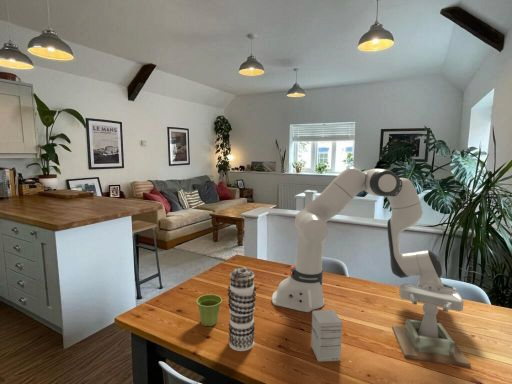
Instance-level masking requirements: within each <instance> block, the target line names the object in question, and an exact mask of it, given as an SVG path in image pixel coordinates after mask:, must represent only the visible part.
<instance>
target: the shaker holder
mask: <svg viewBox="0 0 512 384" xmlns="http://www.w3.org/2000/svg"><path fill="white" fill-rule="evenodd" d="M421 323H422V320H416V319H407V318H406V319H405V326H398V325H392V328H391V329H392V331H393V335H394V336H395V338H396V341H397V343H398V345H399V348H400V350H401V352H402V355H403V357H404V358H406V359H412V360H413V359H414V360H421V361H427V362H435V363H440V364H441V363H442V364H447V365H453V366H454V365H455V366H461V367H468V368H471V366H472V364H471V362H470V360H469V359H468V358H467V356H465V354H464V353H463V351H462V349H460V347H459V346H458V344H457V343H456V342H455V340H454V339H453V337H451V335H450V334H449V332H448V331H447V330H446V329H445V328H444V326H443V325H442V323H441V322H437V327H438V335H439V338H432V337H425V336H419V335H418V332H419V329H420V326H421Z"/></svg>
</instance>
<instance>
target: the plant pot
mask: <svg viewBox="0 0 512 384" xmlns="http://www.w3.org/2000/svg"><path fill="white" fill-rule="evenodd" d="M195 301H196V304H197V307H198V312H199V319H200V323H201V325H202V326H204V327H207V326H208V327H213V326H215V325H216V324H217V323H218V321H219V314H220V313H219V312H220V307H221V304H222V302H223V298H222V297H221V296H220V295H218V294H210V293H208V294H203V295H200V296H199V297H197V299H196V300H195Z"/></svg>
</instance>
